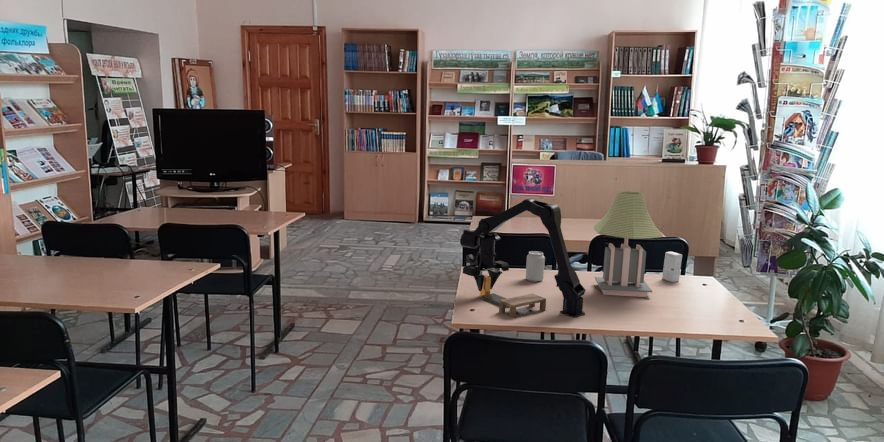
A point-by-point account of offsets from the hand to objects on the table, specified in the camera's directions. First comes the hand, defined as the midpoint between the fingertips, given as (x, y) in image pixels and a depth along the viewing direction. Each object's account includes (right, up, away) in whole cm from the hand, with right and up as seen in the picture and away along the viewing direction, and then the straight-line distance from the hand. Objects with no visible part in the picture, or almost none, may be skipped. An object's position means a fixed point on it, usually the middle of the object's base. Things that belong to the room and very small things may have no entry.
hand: (485, 290), depth 244 cm
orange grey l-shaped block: (+4, -4, -5) cm, 7 cm away
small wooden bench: (+12, -6, -16) cm, 21 cm away
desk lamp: (+56, -2, +14) cm, 58 cm away
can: (+23, +1, +27) cm, 35 cm away
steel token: (+12, -7, -17) cm, 22 cm away
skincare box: (+83, 0, +34) cm, 90 cm away
